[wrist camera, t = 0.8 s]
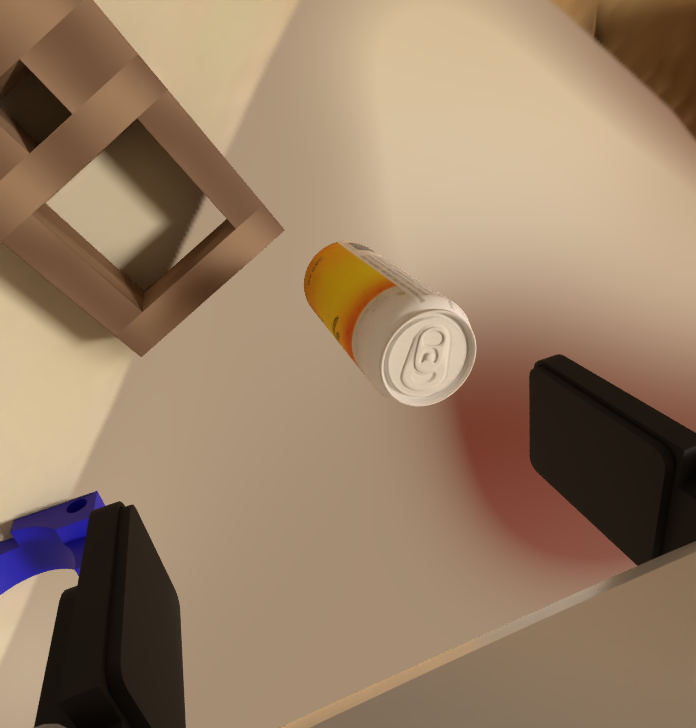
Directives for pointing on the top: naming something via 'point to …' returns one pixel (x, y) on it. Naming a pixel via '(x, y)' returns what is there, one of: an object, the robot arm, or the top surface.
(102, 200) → the top surface
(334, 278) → the beer can
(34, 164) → the brown wooden slotted block
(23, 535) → the cable clip
